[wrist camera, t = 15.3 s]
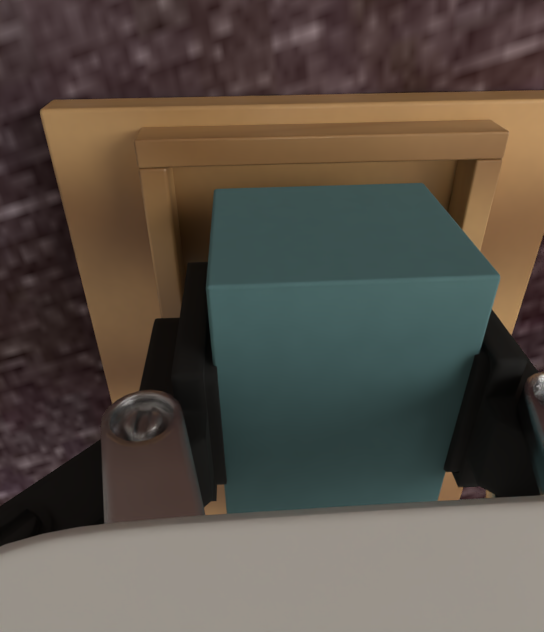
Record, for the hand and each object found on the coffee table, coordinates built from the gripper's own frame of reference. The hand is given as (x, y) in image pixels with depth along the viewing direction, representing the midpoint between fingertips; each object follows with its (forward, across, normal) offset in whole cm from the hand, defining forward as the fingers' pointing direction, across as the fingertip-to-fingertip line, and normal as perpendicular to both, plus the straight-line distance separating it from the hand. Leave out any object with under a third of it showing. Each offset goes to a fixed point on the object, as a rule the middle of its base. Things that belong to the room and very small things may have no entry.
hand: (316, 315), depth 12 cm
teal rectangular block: (+1, 0, 0) cm, 1 cm away
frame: (+3, 0, +4) cm, 5 cm away
